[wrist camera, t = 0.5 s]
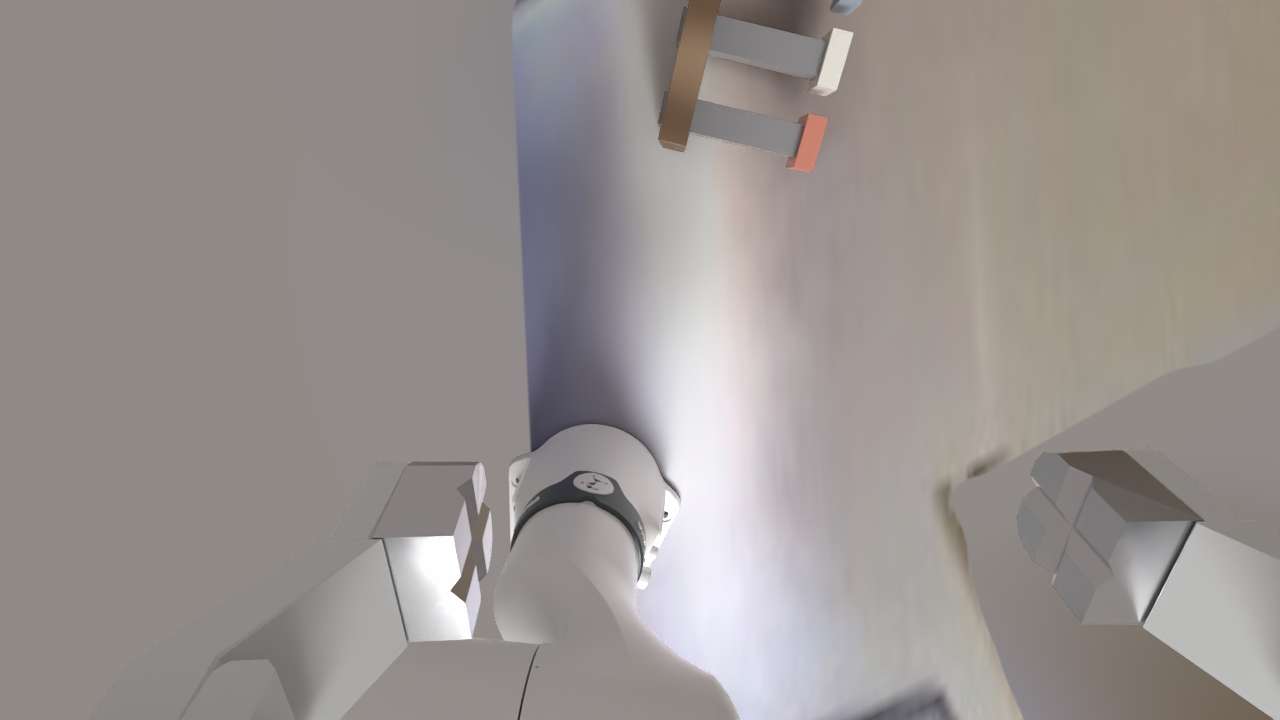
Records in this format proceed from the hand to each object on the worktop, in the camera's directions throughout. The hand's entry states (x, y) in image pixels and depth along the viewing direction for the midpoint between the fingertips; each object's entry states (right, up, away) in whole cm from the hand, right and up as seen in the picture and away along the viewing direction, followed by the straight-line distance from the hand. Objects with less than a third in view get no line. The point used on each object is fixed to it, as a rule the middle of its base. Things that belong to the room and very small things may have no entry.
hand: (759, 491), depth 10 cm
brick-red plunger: (+6, +21, +44) cm, 49 cm away
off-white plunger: (+8, +26, +42) cm, 51 cm away
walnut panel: (+3, +29, +49) cm, 57 cm away
